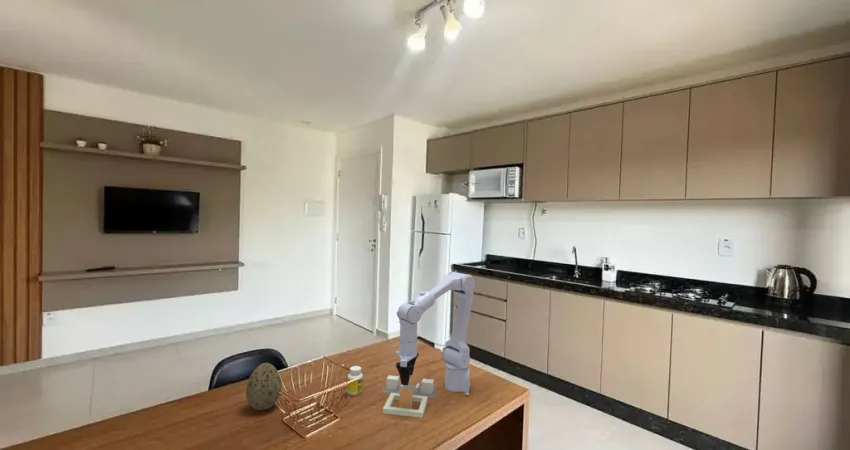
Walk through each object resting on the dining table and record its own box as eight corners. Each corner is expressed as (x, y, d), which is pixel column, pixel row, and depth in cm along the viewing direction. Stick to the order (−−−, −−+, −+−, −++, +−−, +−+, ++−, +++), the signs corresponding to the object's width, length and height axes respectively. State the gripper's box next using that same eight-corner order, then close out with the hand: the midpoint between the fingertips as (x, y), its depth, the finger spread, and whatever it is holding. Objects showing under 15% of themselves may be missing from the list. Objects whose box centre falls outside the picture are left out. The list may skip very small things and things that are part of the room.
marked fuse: (412, 406, 126) (412, 388, 125) (410, 410, 123) (411, 392, 122) (400, 404, 126) (401, 387, 126) (398, 409, 123) (399, 391, 123)
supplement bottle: (358, 399, 130) (359, 372, 130) (344, 397, 131) (345, 370, 131) (364, 392, 135) (365, 366, 135) (350, 390, 136) (351, 364, 136)
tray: (427, 403, 129) (427, 396, 129) (422, 420, 118) (422, 413, 118) (390, 399, 131) (391, 392, 131) (382, 416, 120) (382, 408, 120)
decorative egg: (285, 410, 121) (286, 365, 121) (249, 420, 115) (250, 372, 114) (276, 397, 130) (277, 354, 130) (242, 406, 123) (243, 361, 123)
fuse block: (436, 390, 139) (437, 377, 139) (434, 400, 131) (434, 386, 131) (387, 385, 142) (387, 372, 142) (381, 395, 134) (382, 381, 134)
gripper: (401, 332, 132) (400, 369, 133) (391, 346, 118) (390, 388, 118) (420, 333, 131) (419, 371, 132) (413, 347, 117) (412, 390, 117)
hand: (407, 379), depth 125 cm, fingers open, 7 cm apart
